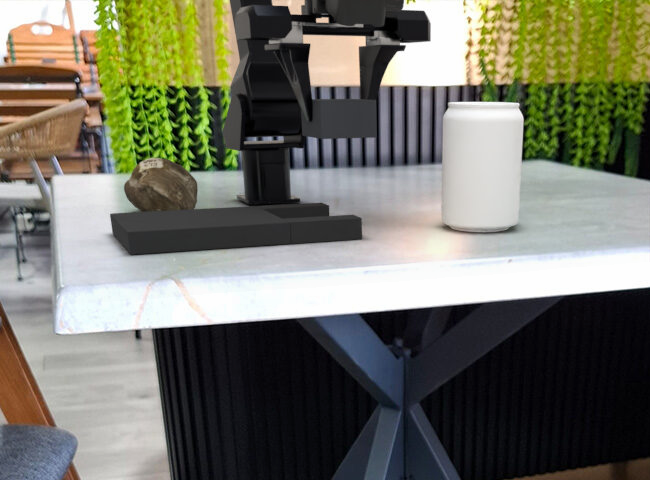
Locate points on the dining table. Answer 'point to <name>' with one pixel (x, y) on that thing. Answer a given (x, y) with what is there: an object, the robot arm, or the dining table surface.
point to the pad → (341, 119)
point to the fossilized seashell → (161, 186)
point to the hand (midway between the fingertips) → (338, 120)
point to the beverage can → (481, 165)
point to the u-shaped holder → (231, 227)
